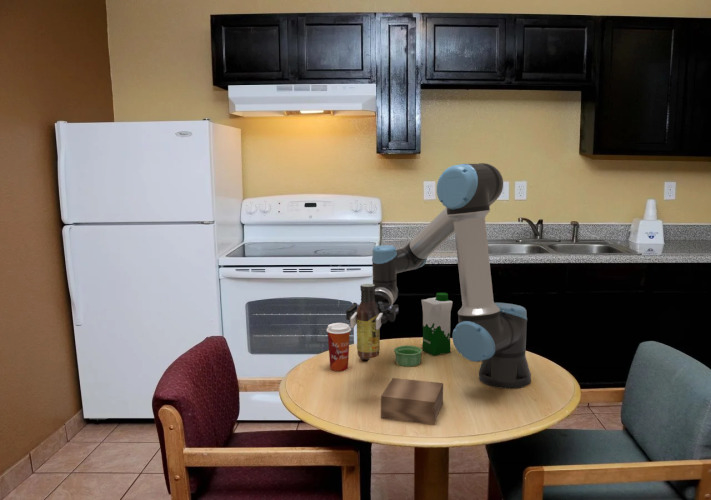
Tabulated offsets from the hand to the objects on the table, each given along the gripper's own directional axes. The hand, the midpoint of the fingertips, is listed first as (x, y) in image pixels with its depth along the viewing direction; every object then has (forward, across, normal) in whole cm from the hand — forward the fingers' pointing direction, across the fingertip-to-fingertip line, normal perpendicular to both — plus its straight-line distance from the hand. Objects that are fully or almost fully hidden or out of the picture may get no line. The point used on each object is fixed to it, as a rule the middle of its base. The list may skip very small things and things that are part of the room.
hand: (364, 323), depth 159 cm
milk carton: (-48, -15, -23) cm, 56 cm away
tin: (-40, +8, -23) cm, 47 cm away
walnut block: (+1, -13, -23) cm, 26 cm away
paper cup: (-27, +14, -23) cm, 38 cm away
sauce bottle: (-5, 0, -11) cm, 12 cm away
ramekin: (-36, -7, -23) cm, 43 cm away
